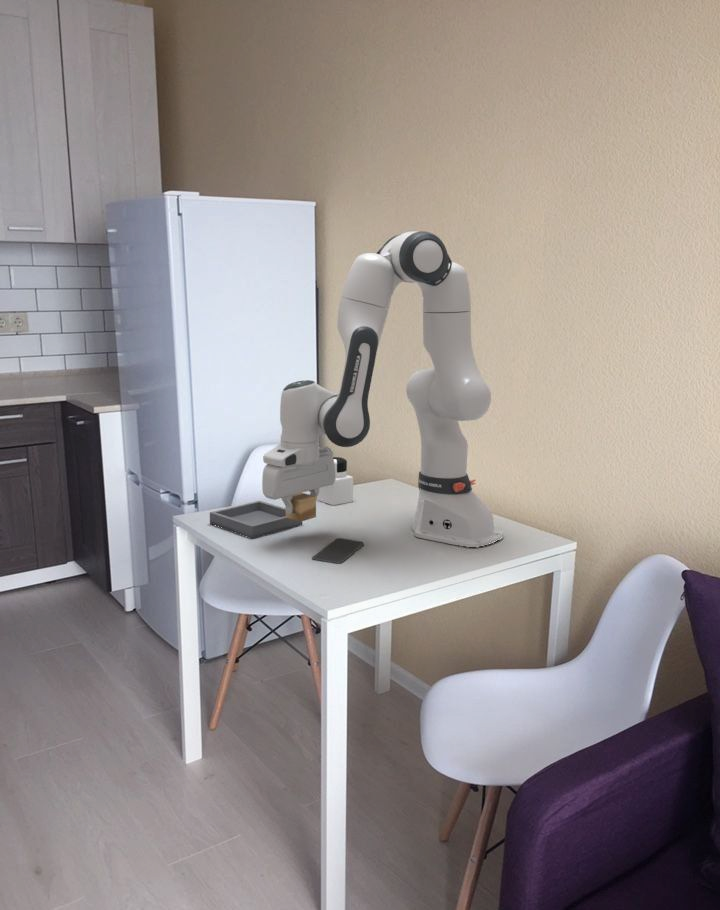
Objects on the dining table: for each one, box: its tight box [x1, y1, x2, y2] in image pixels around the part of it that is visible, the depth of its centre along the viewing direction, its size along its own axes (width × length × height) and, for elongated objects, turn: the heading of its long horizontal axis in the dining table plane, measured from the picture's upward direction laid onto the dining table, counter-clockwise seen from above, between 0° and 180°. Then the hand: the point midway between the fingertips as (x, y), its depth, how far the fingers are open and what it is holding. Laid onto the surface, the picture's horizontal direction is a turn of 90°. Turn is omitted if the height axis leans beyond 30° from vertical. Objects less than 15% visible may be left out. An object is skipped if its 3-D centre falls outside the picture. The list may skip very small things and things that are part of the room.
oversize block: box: [284, 492, 317, 523], centre depth 187 cm, size 5×5×5 cm
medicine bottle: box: [316, 456, 354, 506], centre depth 220 cm, size 7×7×12 cm
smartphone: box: [311, 537, 365, 565], centre depth 180 cm, size 7×1×15 cm
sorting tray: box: [209, 500, 303, 540], centre depth 198 cm, size 16×16×3 cm
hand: (300, 510), depth 188 cm, fingers closed on oversize block, 5 cm apart
